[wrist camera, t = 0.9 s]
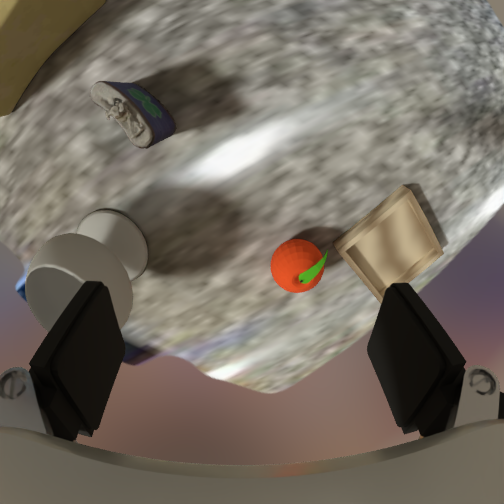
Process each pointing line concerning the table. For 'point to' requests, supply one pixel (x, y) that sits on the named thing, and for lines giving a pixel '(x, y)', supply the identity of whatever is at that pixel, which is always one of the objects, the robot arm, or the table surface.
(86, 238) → the chalice
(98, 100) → the flask
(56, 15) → the cheese
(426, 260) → the tray
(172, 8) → the table surface
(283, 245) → the clementine
